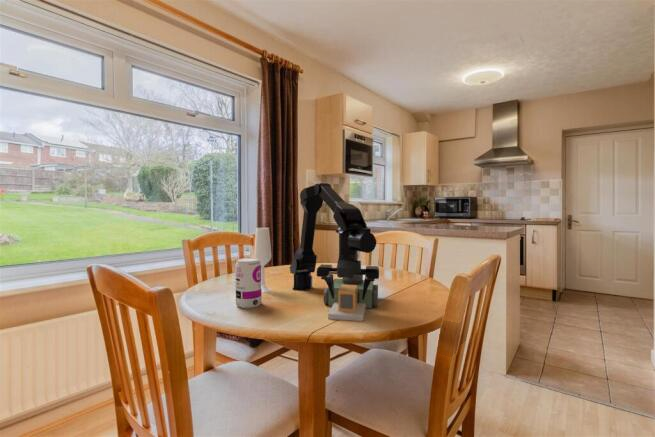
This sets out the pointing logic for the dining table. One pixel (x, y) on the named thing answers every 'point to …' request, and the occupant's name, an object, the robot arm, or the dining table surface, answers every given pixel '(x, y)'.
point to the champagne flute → (263, 252)
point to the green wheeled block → (361, 304)
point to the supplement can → (248, 282)
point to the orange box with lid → (347, 298)
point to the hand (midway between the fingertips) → (348, 299)
